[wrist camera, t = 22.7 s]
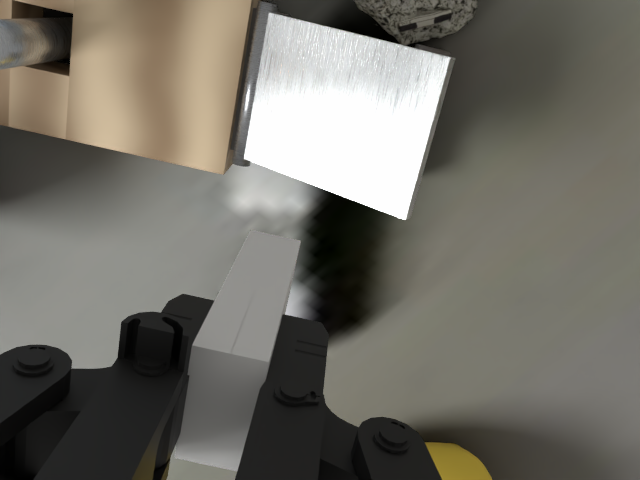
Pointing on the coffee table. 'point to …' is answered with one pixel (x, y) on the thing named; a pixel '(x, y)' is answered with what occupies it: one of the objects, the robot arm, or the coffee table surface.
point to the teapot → (456, 462)
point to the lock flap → (340, 109)
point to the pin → (34, 41)
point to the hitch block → (140, 78)
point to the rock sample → (419, 17)
